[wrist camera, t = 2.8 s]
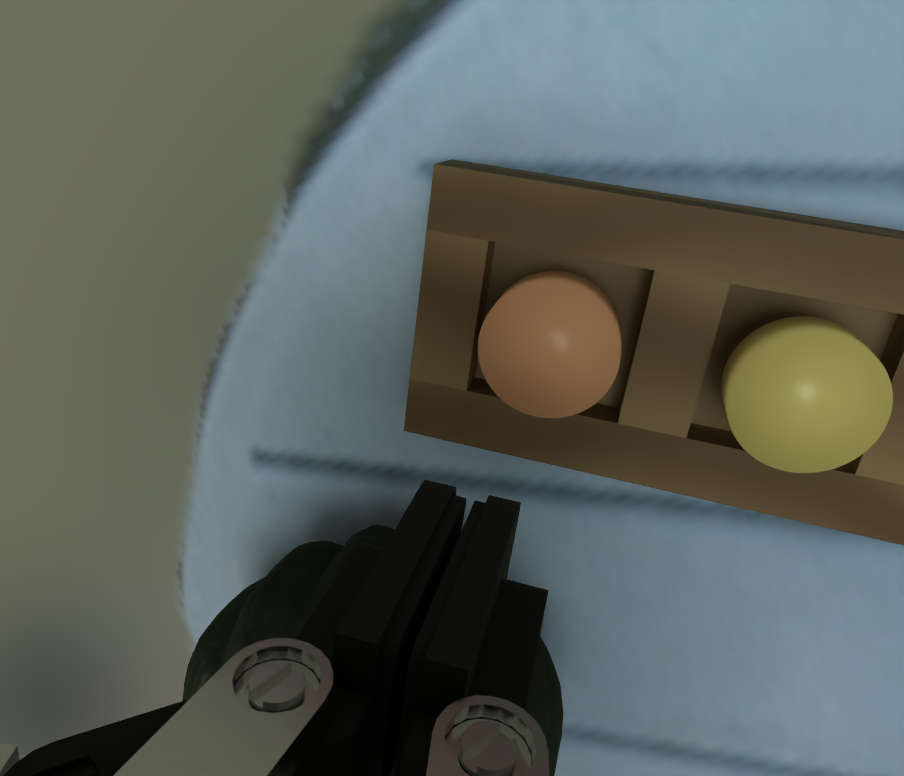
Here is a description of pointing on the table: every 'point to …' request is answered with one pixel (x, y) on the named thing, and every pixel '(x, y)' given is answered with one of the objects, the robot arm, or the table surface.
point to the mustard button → (805, 395)
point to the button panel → (657, 333)
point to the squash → (294, 600)
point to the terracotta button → (551, 345)
